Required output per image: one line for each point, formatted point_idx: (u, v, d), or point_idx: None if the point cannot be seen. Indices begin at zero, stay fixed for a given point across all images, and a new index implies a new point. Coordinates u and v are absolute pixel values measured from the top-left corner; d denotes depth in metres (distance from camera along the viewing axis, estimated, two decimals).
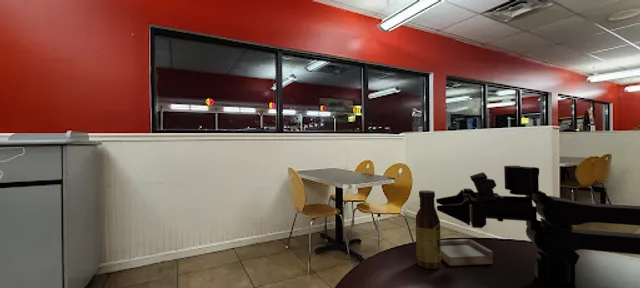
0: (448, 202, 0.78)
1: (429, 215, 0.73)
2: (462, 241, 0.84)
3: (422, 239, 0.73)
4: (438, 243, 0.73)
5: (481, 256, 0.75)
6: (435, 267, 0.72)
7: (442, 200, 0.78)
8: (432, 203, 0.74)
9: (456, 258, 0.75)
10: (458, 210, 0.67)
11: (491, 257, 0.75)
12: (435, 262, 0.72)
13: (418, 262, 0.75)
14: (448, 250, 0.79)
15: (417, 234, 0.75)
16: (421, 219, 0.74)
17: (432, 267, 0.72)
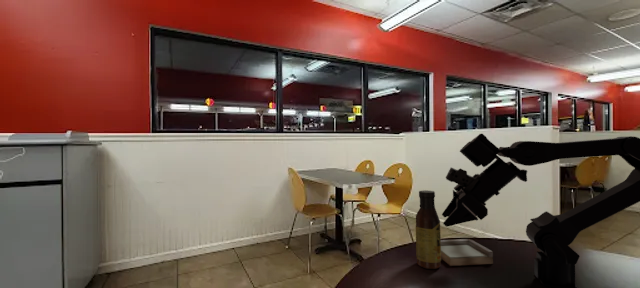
0: (452, 209, 0.77)
1: (429, 215, 0.73)
2: (462, 241, 0.84)
3: (422, 239, 0.73)
4: (438, 243, 0.73)
5: (481, 256, 0.75)
6: (435, 267, 0.72)
7: (446, 211, 0.77)
8: (432, 203, 0.74)
9: (456, 258, 0.75)
10: (460, 214, 0.67)
11: (491, 257, 0.75)
12: (435, 262, 0.72)
13: (418, 262, 0.75)
14: (448, 250, 0.79)
15: (417, 234, 0.75)
16: (421, 219, 0.74)
17: (432, 267, 0.72)
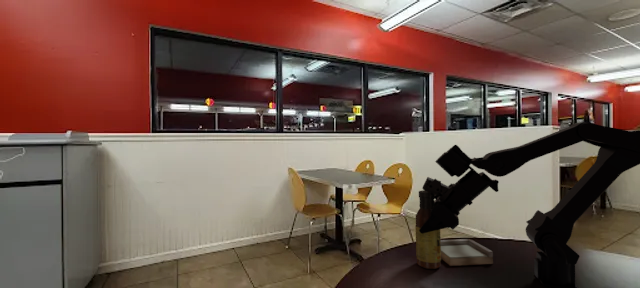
0: None
1: (429, 215, 0.73)
2: (462, 241, 0.84)
3: (422, 239, 0.73)
4: (438, 243, 0.73)
5: (481, 256, 0.75)
6: (435, 267, 0.72)
7: None
8: (432, 203, 0.74)
9: (456, 258, 0.75)
10: (434, 221, 0.71)
11: (491, 257, 0.75)
12: (435, 262, 0.72)
13: (418, 262, 0.75)
14: (448, 250, 0.79)
15: (417, 234, 0.75)
16: (421, 219, 0.73)
17: (432, 267, 0.72)
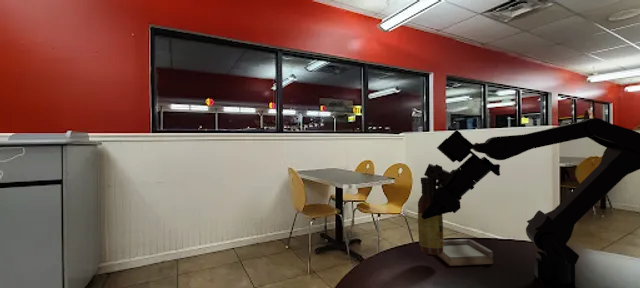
0: None
1: (431, 200, 0.73)
2: (462, 241, 0.84)
3: (424, 224, 0.73)
4: (440, 229, 0.73)
5: (481, 256, 0.75)
6: (437, 253, 0.72)
7: None
8: (434, 189, 0.74)
9: (456, 258, 0.75)
10: (436, 206, 0.71)
11: (491, 257, 0.75)
12: (438, 248, 0.72)
13: (421, 248, 0.75)
14: (448, 250, 0.79)
15: (419, 220, 0.75)
16: (423, 205, 0.74)
17: (435, 253, 0.72)
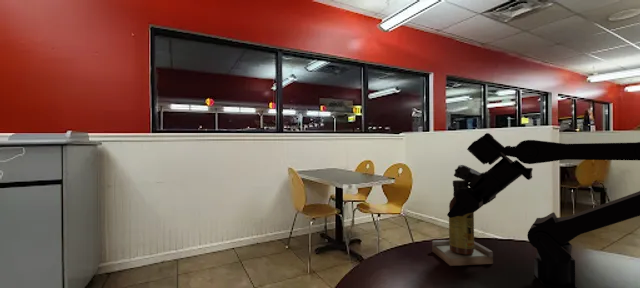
0: None
1: None
2: None
3: (452, 225, 0.77)
4: (469, 231, 0.75)
5: (481, 256, 0.75)
6: (465, 253, 0.75)
7: None
8: None
9: (456, 258, 0.75)
10: (460, 206, 0.74)
11: (491, 257, 0.75)
12: (465, 249, 0.75)
13: (450, 247, 0.79)
14: (448, 250, 0.79)
15: (449, 221, 0.79)
16: (452, 206, 0.78)
17: (462, 252, 0.76)
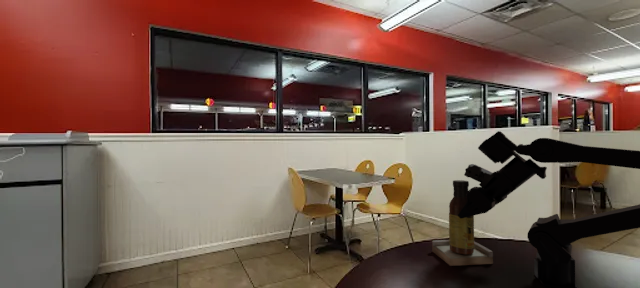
0: None
1: (460, 203, 0.77)
2: None
3: (452, 225, 0.77)
4: (469, 230, 0.75)
5: (481, 256, 0.75)
6: (465, 253, 0.75)
7: None
8: (464, 192, 0.77)
9: (456, 258, 0.75)
10: (471, 207, 0.72)
11: (491, 257, 0.75)
12: (465, 249, 0.75)
13: (450, 247, 0.79)
14: (448, 250, 0.79)
15: (449, 220, 0.79)
16: (452, 206, 0.78)
17: (462, 252, 0.76)
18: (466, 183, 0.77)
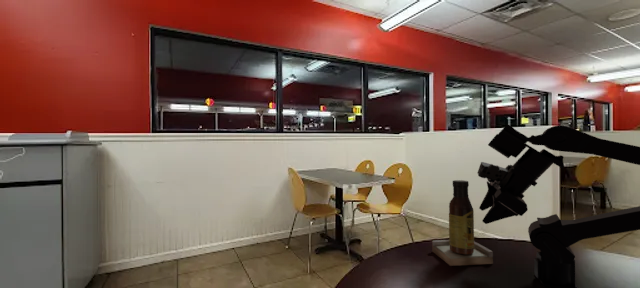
0: (489, 201, 0.76)
1: (460, 203, 0.77)
2: None
3: (452, 225, 0.77)
4: (469, 230, 0.76)
5: (481, 256, 0.75)
6: (465, 253, 0.75)
7: (484, 205, 0.77)
8: (464, 192, 0.77)
9: (456, 258, 0.75)
10: (498, 210, 0.67)
11: (491, 257, 0.75)
12: (465, 249, 0.75)
13: (450, 247, 0.79)
14: (448, 250, 0.79)
15: (449, 221, 0.79)
16: (452, 206, 0.78)
17: (462, 252, 0.76)
18: (466, 183, 0.77)
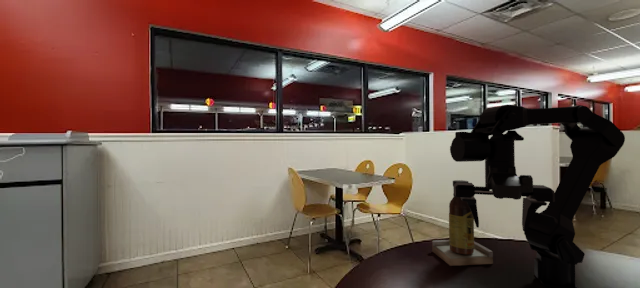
0: None
1: (460, 203, 0.77)
2: None
3: (452, 225, 0.77)
4: (469, 230, 0.75)
5: (481, 256, 0.75)
6: (465, 253, 0.75)
7: None
8: None
9: (456, 258, 0.75)
10: None
11: (491, 257, 0.75)
12: (465, 249, 0.75)
13: (450, 247, 0.79)
14: (448, 250, 0.79)
15: (449, 221, 0.79)
16: (452, 206, 0.78)
17: (462, 252, 0.76)
18: None
